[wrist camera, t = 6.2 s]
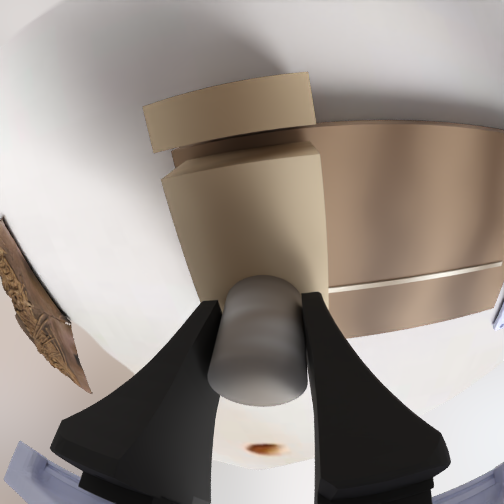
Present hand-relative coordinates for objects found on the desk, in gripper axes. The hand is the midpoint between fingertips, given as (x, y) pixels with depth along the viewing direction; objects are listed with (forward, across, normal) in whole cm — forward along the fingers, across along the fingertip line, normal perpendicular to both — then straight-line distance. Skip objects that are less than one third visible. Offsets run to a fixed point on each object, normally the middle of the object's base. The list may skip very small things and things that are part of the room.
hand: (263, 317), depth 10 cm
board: (+6, -6, 0) cm, 8 cm away
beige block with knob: (+5, 0, -2) cm, 5 cm away
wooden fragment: (+6, +25, +7) cm, 26 cm away
